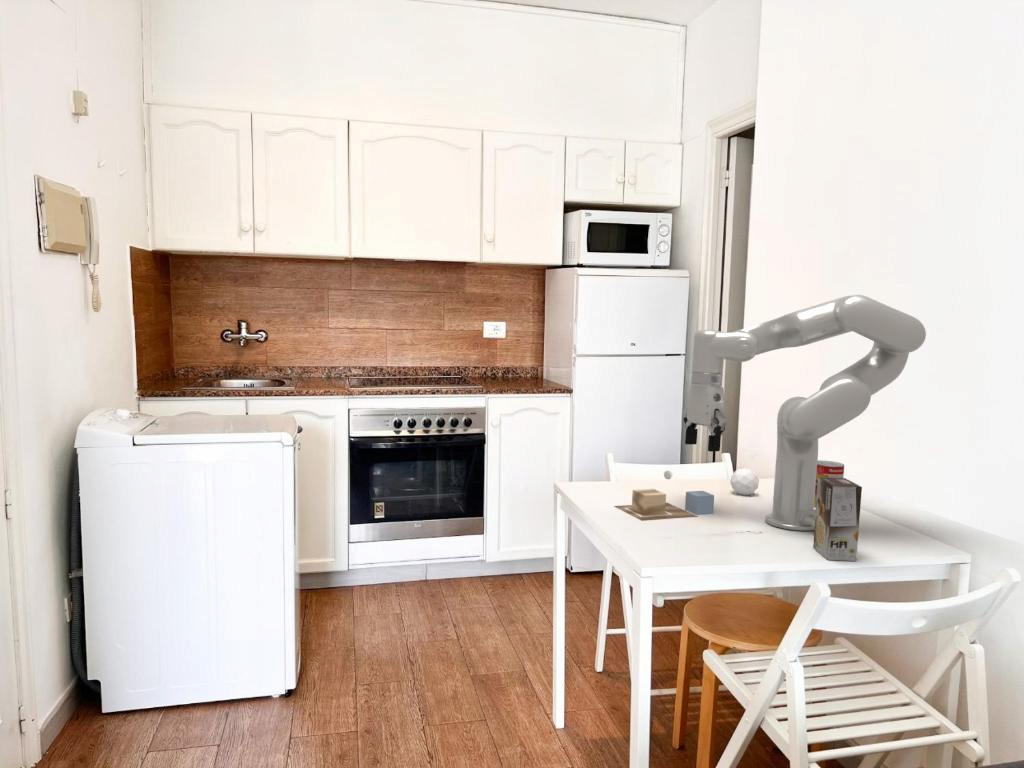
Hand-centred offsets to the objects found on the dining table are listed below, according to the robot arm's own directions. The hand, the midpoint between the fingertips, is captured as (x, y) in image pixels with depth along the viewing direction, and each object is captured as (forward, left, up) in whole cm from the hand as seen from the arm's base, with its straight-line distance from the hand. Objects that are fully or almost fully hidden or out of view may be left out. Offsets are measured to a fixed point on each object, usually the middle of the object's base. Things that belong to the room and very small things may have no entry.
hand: (702, 447), depth 189 cm
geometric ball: (+18, -28, -18) cm, 38 cm away
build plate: (+3, +11, -18) cm, 21 cm away
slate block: (0, 0, -18) cm, 18 cm away
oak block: (+3, +13, -16) cm, 21 cm away
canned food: (+1, -42, -18) cm, 46 cm away
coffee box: (-34, -11, -18) cm, 40 cm away
